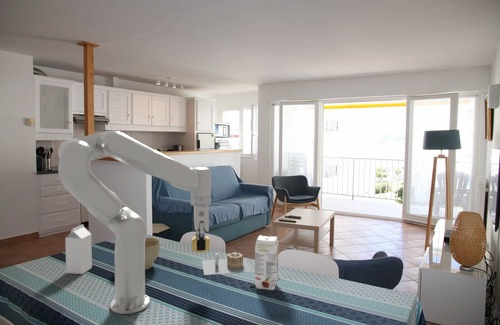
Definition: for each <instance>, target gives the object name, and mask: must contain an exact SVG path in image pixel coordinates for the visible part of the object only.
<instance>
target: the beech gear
mask: <svg viewBox="0 0 500 325" xmlns="http://www.w3.org/2000/svg"><path fill="white" fill-rule="evenodd" d="M236 253H237V257H234V252H231V253H227V256H226V259H227V266H229V267H230V268H239V267H242V265H243V258H244V254H242V253H241V252H236Z"/></svg>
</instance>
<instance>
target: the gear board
mask: <svg viewBox="0 0 500 325" xmlns="http://www.w3.org/2000/svg"><path fill="white" fill-rule="evenodd" d="M233 253H234V257H237V253H238V252H233ZM214 255H215V256H214V259H207V260H201V266H202V271H203V275H204V276H212V275H213V276H214V275H224V274H225V275H226V274H240V273H251V272H253V270H252V267H251V266H250V265H249V262H248V260H247V259H246V257H243V265H242V267H239V268H230V267H229V266H227V258H224V259H223V258H222V259H220V257H219V255H220V254H219V253H217V252H216V253H215V254H214Z"/></svg>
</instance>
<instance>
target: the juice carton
mask: <svg viewBox="0 0 500 325" xmlns="http://www.w3.org/2000/svg"><path fill="white" fill-rule="evenodd" d="M278 278H279V238H278V236H265V235H261V234H260V235H258V237H257V239H256V240H255V246H254V283H255V284H254V285H255V288H256V289H258V290H268V291H274V290H275V289H276V285H277V282H278Z"/></svg>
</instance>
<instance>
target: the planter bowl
mask: <svg viewBox="0 0 500 325" xmlns="http://www.w3.org/2000/svg"><path fill="white" fill-rule="evenodd" d="M160 247H161V240H159V238H155V237H147V236H146V239H145V271H146V270H149V269H151V268H152V267H153V265H154V263H155V261H156V260H157V257H158V256H159V253H160Z"/></svg>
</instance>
